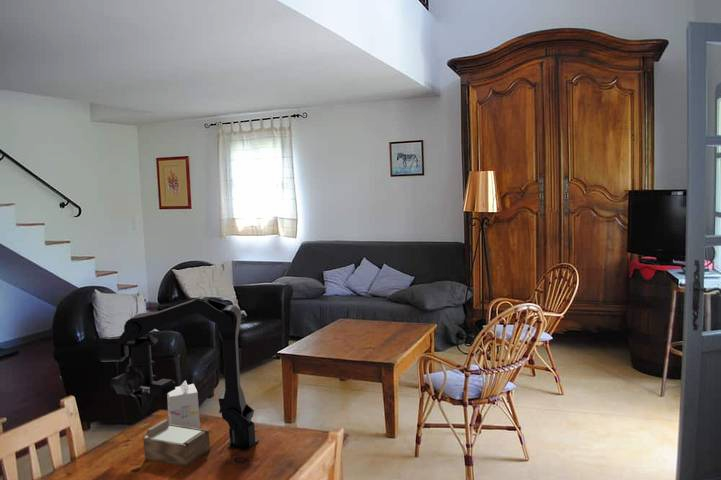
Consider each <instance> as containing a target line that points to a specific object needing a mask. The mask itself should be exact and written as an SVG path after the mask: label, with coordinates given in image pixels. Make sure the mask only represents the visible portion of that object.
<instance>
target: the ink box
mask: <svg viewBox="0 0 721 480" xmlns="http://www.w3.org/2000/svg"><path fill="white" fill-rule="evenodd" d="M198 393H199V392H198V390H197V388H196V386H195V383H191V384H188V383H187V380H184V381H183V382H182V383H181V384H180V385H179V386H175V390H173V391H171V392H169V393H167V394H166V395H167V398H166V399H167V415H168V418H167V420H168V423H169V424H174V425H180V426H186V427H193V428H199V429H201V422H200V409H199V397H198Z"/></svg>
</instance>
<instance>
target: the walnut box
mask: <svg viewBox="0 0 721 480" xmlns="http://www.w3.org/2000/svg"><path fill="white" fill-rule="evenodd" d="M169 426H174V427H180V428H186V429H193V430H199V431H202V432H201V433H199V434H198V435H196V436H195V437H193V438H192V439H190V440H188V441H187V442H185V445H184V444H179V443H173V442H167V441H162V440H156V439H150V438H145V437H143V438H142V439H143V449H144V459H145V460H148V461H154V462H157V463H163V464H168V465H174V466H178V467H185V468H188V467H189V466H191V465H192V464H193V463H194V462H196V461H198V460H199V459H201V458H202V457H203V456H204V455H205V454H207V453H208V452H210V451H211V445H210V444H211V443H210V430H209V429H205V428H193V427H186V426H180V425H174V424H169Z"/></svg>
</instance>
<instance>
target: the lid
mask: <svg viewBox="0 0 721 480" xmlns="http://www.w3.org/2000/svg"><path fill="white" fill-rule="evenodd" d="M146 431H147V435H145V436H144V438H150V439H156V440H162V441H167V442H173V443H179V444H184V445H185V442H187V441H188V440H190V439H192V438H193V437H195V436H196V435H198V434H199V433H201V432H202V431H199V430H193V429H186V428H180V427H174V426H169V419H162V421H160V422H158V423H156V424H154V425H153V426H151V427H149V428H147V429H146Z"/></svg>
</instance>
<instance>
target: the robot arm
mask: <svg viewBox="0 0 721 480" xmlns="http://www.w3.org/2000/svg"><path fill="white" fill-rule="evenodd" d="M196 314H200V315H202V317H204V318H206V319H207V320H208V321H210V322H212V323H213V324H216V327H217V331H218V333H219V336H220V339H221V342H222V355H223V369H224V370H223V371H224V375H223V376H224V389H225V390H223V391H222V392H221V394H220V396H219V397H218V404H219V412H218V414H221V418H222V419H223V420H224V421H226V422H227V424H228V427H229V429H228V432H229V433H228V434H229V435H228V437H229V444H227V448H231V449H236V450H239V451H240V450H241V451H248V450H249V449H251V448H252V447H253V446H254V445H256V444H257V443H258V442H259V438H256V427H255V422H253V421H252V418H253V416H254V413H255V410H254V409H253V408H252V407H251V406H250V405H249V404H248V403H247V401H246V398H245V397H246V396H245V394H244V390H243V388H242V386H241V375H240V373H241V372H240V360H239V359H240V356H239V355H240V354H239V340H238V339H239V334H240V328H241V322H242V311H241V309H240V308H239V307H237V305H233V304H230V305H227V304H226V303H224V302H220V301H218V300H214V299H211V298H210V297H209V298H208V297H207V296H204V295H200V296H198V297H196V298H194V299H192V300H191V299H190V300H188V301H185V302H183V303H180V304H177V305H174V306H170V307H168V308H164V309H162V310H159V311H148V312H141V313H138V314H136V315H134V316H132V317H130V318H129V319H128V320H126V322H125V324H124V326H123V332H122V333H121V335H120V336H104V337H102V338H101V339H100V340H101V343H100V345H99V349H98V350H99V351H98V358H99V361H100V362H102V363H103V362H104V363H107V362H123V361H125V360H126V358H129V364H128V365H127V364H126V367H125V373H122V374H120V375H118V376H115V377H113V378H111V380H110V382H109V385H110V386H109V388H110V390H114V391H115V392H116V394H117V395H124V396H132V397H133V399H134V400H135V402H136V405H138V409H139V410H140V412H141V415H147V414H148V412H149V409H150V407H151V405H152V401H153V399H154V397H156V396H157V397H163V396H165V395H167V393H169V392H171V391H173V390H175V387H176V382H175V380H173V379H168V378H161V379H159V380H156V379H157V375H156V374H153V366H156V361H155V360H152V349H151V348H152V347H151V346H155V344H156V343H157V342H158V341H159V339H158V338H156V337H154V335H153V334H149V333H150V332H152V331H155V330H156V329H157V328H159V327H161V326H164V325H167V324H169V323H173V322H175V321H179V320H182V319H184V318H187V317H188V318H189V316H190V317H191V316H193V315H196ZM148 334H149V335H148ZM145 335H148V336H147V337H143V336H145ZM154 380H156V381H154Z"/></svg>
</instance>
